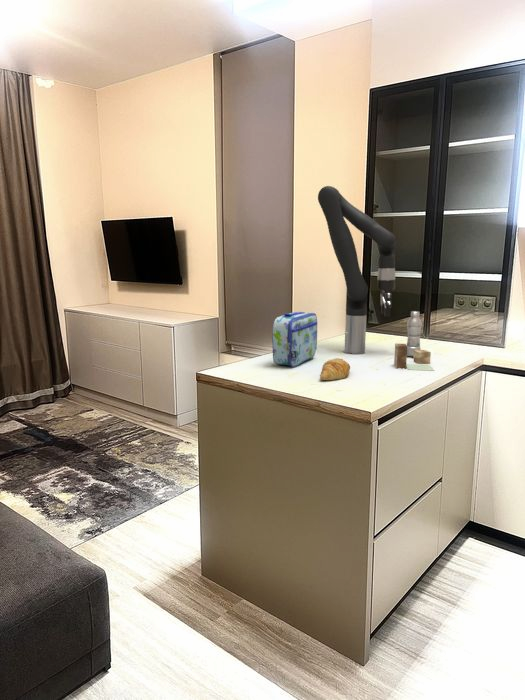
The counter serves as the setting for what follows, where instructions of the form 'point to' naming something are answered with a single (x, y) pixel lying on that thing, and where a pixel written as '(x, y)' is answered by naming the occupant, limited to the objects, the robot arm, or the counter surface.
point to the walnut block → (400, 356)
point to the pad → (419, 367)
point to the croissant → (335, 369)
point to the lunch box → (294, 338)
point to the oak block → (422, 356)
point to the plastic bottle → (413, 333)
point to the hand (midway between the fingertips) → (385, 315)
